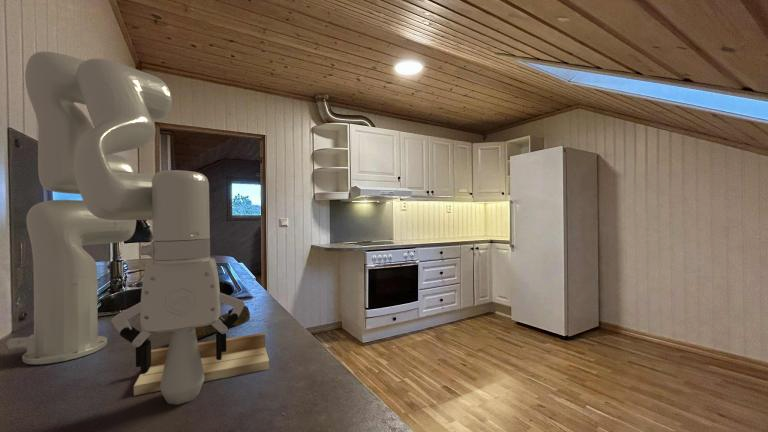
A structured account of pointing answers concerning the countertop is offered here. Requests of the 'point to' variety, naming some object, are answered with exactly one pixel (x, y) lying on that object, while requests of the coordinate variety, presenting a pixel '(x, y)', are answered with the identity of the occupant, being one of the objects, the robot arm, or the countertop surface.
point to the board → (212, 361)
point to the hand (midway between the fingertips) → (184, 363)
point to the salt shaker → (182, 368)
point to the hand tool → (210, 329)
